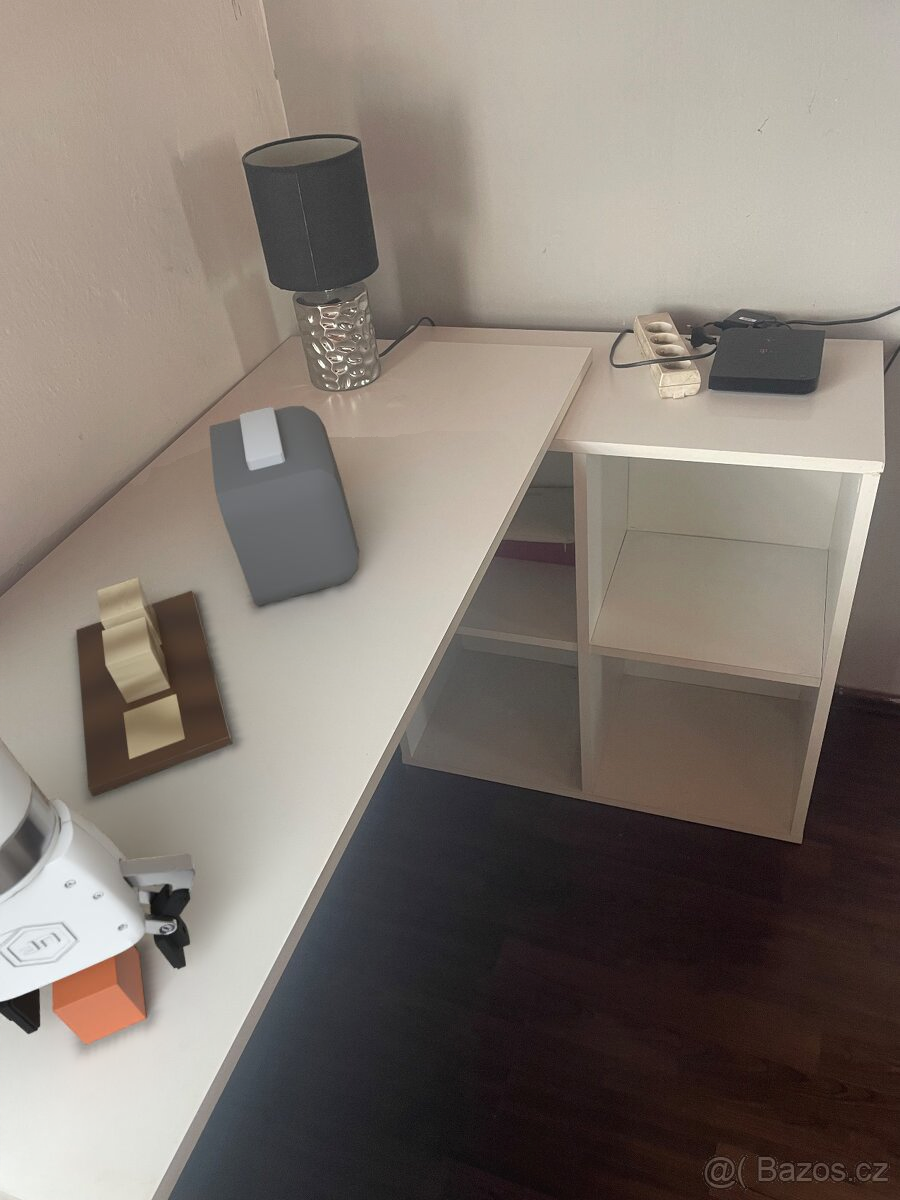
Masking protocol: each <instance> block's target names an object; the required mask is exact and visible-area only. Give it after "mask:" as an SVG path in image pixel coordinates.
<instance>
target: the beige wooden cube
mask: <svg viewBox="0 0 900 1200" xmlns="http://www.w3.org/2000/svg"><path fill="white" fill-rule="evenodd" d="M96 592H97V599H98V610H99V618H100V622H101V623H102V624H103V626H104V628H105V630H107V629H110V628H113V627H116V626H118V625H121V624H124V623H127V622H130V621H133V620H136V619H139V618H142V617H146V619H147V621H148V623H149V625H150V627H151V629H152V631H153V633H154V635H155V637H156V639H157V642H158V644H159V645H162V642H161V637H160V631H159V626H158V621H157V616H156V613H155V611H154V609H153V607H152V605H151V604H152V602H151V600H150V599H149V597H148V594H147V593H146V591H145V588H144V586H143V583H142V582H141V580H140V578H139V576H137V577H134V578H131V579H128V580H125V581H122V582H119V583H116V584H113V585H110V586H107V587H104V588H100V589H98V590H97V591H96Z"/></svg>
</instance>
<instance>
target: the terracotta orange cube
mask: <svg viewBox="0 0 900 1200" xmlns="http://www.w3.org/2000/svg"><path fill="white" fill-rule="evenodd" d="M140 959H141V958H140V953H139V951H138V950H137V948H135V946H134V945H133V946H131V947H130V948H128V949H127V950H125V951H123V952H121V953H119V954H117V955H115V956H113V957H110V958H108V959H106V960H104V961H101V962H99V963H97V964H94V965H92V966H90V967H88V968H85V969H83V970H81V971H78V972H76V973H74V974H71V975H69V976H67V977H64V978H62V979H59V980H57V981H55V982H52V983H51V990H52V991H51V993H52V994H51V995H52V1013H54V1015H56V1016H57V1017H58V1018H59V1020H60V1021H62V1022H63V1023H64V1024H65V1025H66V1027H68V1028H69V1029H70V1030H71V1031H72V1032H73V1033H74V1035H76V1037H77V1038H79V1039H80V1040H81V1042H83V1043H84V1045H88V1044H91V1043H93V1042H95V1041H98V1040H100V1039H102V1038H105V1037H107V1036H109V1035H113V1034H114V1033H117V1032H118V1031H121V1030H124V1029H126V1028H128V1027H130V1026H133V1025H135V1024H137V1023H140V1022H141V1021H145V1020H146V1019H147V1013H146V1003H145V996H144V986H143V977H142V969H141V960H140Z"/></svg>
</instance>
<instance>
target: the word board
mask: <svg viewBox="0 0 900 1200" xmlns="http://www.w3.org/2000/svg"><path fill="white" fill-rule="evenodd" d="M151 605H152V607H153V609H154V611H155V613H156V616H157V621H158V626H159V631H160V637H161V642H162V645H159V646H160V648H161V650H162V652H163V654H164V658H165V663H166V668H167V673H168V678H169V684H170V688H169V689H166V690H163V691H161V692H158V693H155V694H152V695H149V696H147V697H144V698H141V699H138V700H136V701H133V702H130V703H127V702H126V701H125V699H124V697H123V695H122V693H121V692H120V690H119V688H118V686H117V685H116V683H115V681H114V679H113V678H112V676H111V674H110V672H109V671H108V669H107V667H106V664H105V655H104V646H103V637H102V631H104V630H105V628H104V626H103V624H102V623H101V621H98V622H95V623H93V624H89V625H87V626H83V627H80V628H78V629H76V630H75V631H76V642H77V644H76V645H77V656H78V657H77V658H78V668H79V669H78V670H79V683H80V685H79V686H80V697H81V710H82V722H83V723H82V724H83V735H84V737H83V738H84V749H85V763H86V775H87V789H88V791H89V793H90V794H91V796H93V797H96V796H97V795H101V794H103V793H106V792H109V791H112V790H113V789H116V788H119V787H122V786H124V785H127V784H129V783H132V782H135V781H138V780H140V779H143V778H145V777H148V776H150V775H155V774H156V773H158V772H161V771H164V770H167V769H169V768H172V767H174V766H178V765H180V764H182V763H185V762H188V761H190V760H193V759H196V758H198V757H201V756H204V755H206V754H208V753H211V752H215V751H217V750H220V749H222V748H224V747H227V746H231V745H232V744H233V740H232V737H231V732H230V728H229V724H228V721H227V720H228V719H227V717H226V712H225V708H224V705H223V701H222V696H221V693H220V689H219V685H218V681H217V677H216V674H215V673H216V672H215V669H214V665H213V662H212V658H211V653H210V650H209V646H208V642H207V638H206V634H205V631H204V626H203V622H202V618H201V615H200V611H199V606H198V603H197V599H196V596H195V594H194V592H193V590H189V591H186V592H184V593H181V594H178V595H174V596H171V597H169V598H165V599H162V600H160V601H157V602H154V603H151Z"/></svg>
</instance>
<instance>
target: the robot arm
mask: <svg viewBox="0 0 900 1200" xmlns="http://www.w3.org/2000/svg"><path fill="white" fill-rule="evenodd" d="M195 876H196V869H195V865H194V858H193V855H192V854H190V853H179V854H178V853H177V854H169V855H159V856H150V857H139V858H132V859H131V858H129V859H128V858H127V857H126V856H125V855H124V853H123V852H122V851H121V850H120V849H119V847H118V846H117V845H116V844H115V843H114V842H113V841H112V840H111V839H110V838H109V837H108V835H106V834H105V833H104V832H103V831H102V830H101V828H99V827H98V826H97V825H96V824H94V823H93V822H92V821H91V820H90V819H88V818H87V817H86V816H85V815H84V814H82V813H81V812H79V810H77V809H76V808H74V807H73V806H71V805H70V804H68V803H67V802H65V801H63V800H62V799H60V798H53V799H52V798H51V799H48V797H47V796H46V795H45V794H44V792H43V790H41V788H40V787H39V786H38V785H37V783H36V782H35V781H34V779H33V778H32V777H31V776H30V774H29V773H28V771H26V769H25V768H24V766H23V765H22V764H21V763H20V762H19V760H18V759H17V757H16V756H15V755H14V754H13V752H12V751H11V750H10V749H9V747H8V746H7V744H5V742H4V740H3V739H1V737H0V1014H1V1015H2V1016H3V1017H4V1018H5V1019H6V1020H8V1021H9V1022H12V1023H14V1024H16V1025H17V1026H18V1027H19V1028H20V1029H21V1030H23V1031H24V1032H25V1033H26V1034H27V1035H31V1034H33V1033H35V1032H37V1031H38V1030H39V1028H40V1027H41V992H40V988H43V987H45V986H47V985H50V984H52V982H55V981H57V980H59V979H62V978H64V977H67V976H69V975H71V974H74V973H76V972H78V971H81V970H83V969H85V968H88V967H90V966H92V965H94V964H97V963H99V962H101V961H104V960H106V959H108V958H110V957H113V956H115V955H117V954H119V953H121V952H123V951H125V950H127V949H128V948H130V947H131V946H134V945H136V944H137V943H138V942H140V940H141V939H142V938H143V937H144V936H145V934H149V935H153V942H154V944H155V946H156V947H157V949H158V950H159V952H160V953H161V954H162V955H163V956H164V958H165V959H166V961H168V963H169V965H170V966H172V968H173V969H174V970H175V969H176V970H180V969H183V968H185V967H186V966H187V962H186V956H185V955H186V954H185V949H184V948H185V947H188V946H190V944H191V939H190V933H189V930H188V926H187V924H186V922H184V920H183V918H182V917H181V914H182V913H183V911H184V910H185V908H186V907H187V905H188V904H189V903H190V901H191V890H192V889H193V885H194V880H195ZM160 885H163V886H160ZM143 905H148V906H149V913H147V912H144V909H143Z"/></svg>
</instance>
